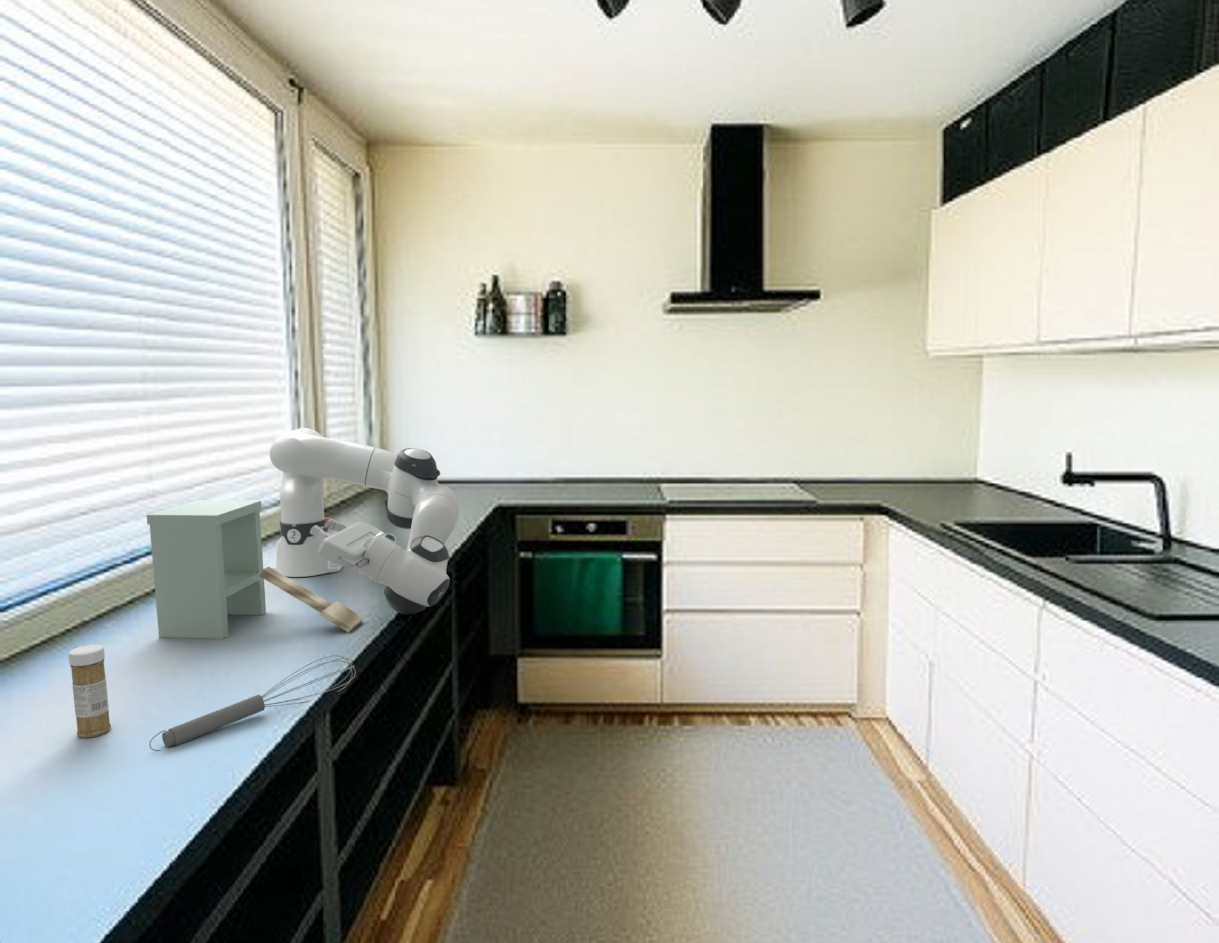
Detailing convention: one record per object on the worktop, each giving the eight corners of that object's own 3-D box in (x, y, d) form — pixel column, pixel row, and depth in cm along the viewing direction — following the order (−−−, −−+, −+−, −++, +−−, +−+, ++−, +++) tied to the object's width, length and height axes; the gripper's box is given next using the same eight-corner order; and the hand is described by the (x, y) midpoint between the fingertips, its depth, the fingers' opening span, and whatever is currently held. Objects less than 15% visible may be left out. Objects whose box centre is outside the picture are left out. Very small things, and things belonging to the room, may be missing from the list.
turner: (351, 627, 172) (347, 634, 172) (363, 617, 179) (359, 624, 179) (257, 572, 172) (254, 579, 172) (273, 563, 179) (270, 570, 179)
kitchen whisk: (142, 747, 121) (138, 707, 120) (344, 681, 146) (342, 647, 146) (158, 760, 117) (155, 718, 116) (363, 689, 143) (362, 655, 142)
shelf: (205, 611, 187) (197, 500, 184) (268, 612, 186) (261, 500, 183) (156, 637, 169) (146, 514, 166) (225, 638, 168) (216, 515, 165)
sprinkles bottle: (106, 723, 129) (98, 641, 127) (115, 731, 126) (107, 648, 124) (72, 732, 125) (64, 649, 124) (81, 741, 122) (72, 656, 121)
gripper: (350, 582, 163) (291, 548, 163) (385, 558, 183) (332, 528, 183) (364, 555, 162) (304, 521, 162) (398, 534, 182) (345, 504, 182)
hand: (319, 525), depth 173 cm, fingers open, 6 cm apart
